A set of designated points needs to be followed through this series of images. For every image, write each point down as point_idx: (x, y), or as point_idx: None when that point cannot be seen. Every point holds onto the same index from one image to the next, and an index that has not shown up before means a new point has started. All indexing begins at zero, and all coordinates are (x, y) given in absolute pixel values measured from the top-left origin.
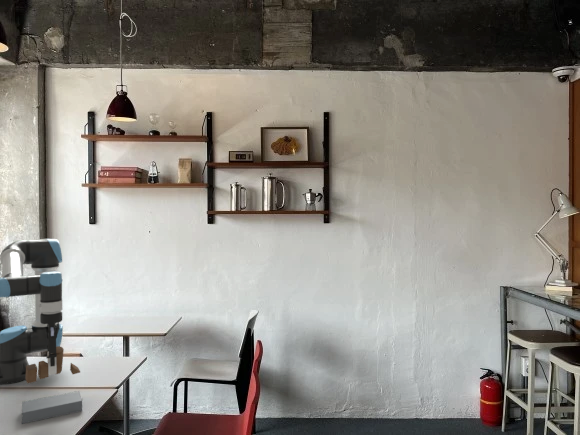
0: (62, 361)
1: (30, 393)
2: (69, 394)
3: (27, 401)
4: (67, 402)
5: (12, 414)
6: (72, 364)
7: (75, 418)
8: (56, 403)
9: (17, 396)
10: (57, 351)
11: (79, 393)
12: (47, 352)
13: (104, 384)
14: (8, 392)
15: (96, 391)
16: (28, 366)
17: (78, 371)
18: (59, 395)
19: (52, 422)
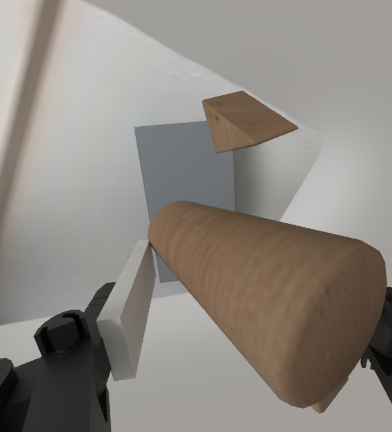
0: (223, 209)
1: (33, 267)
2: (157, 160)
3: (164, 271)
4: (224, 165)
5: (167, 284)
6: (260, 132)
7: (264, 143)
8: (217, 196)
9: (48, 293)
10: (375, 313)
11: (162, 126)
12: (124, 372)
13: (5, 31)
14: (10, 317)
15: (76, 70)
16: (328, 400)
17: (253, 101)
18: (153, 191)
19: (257, 197)
